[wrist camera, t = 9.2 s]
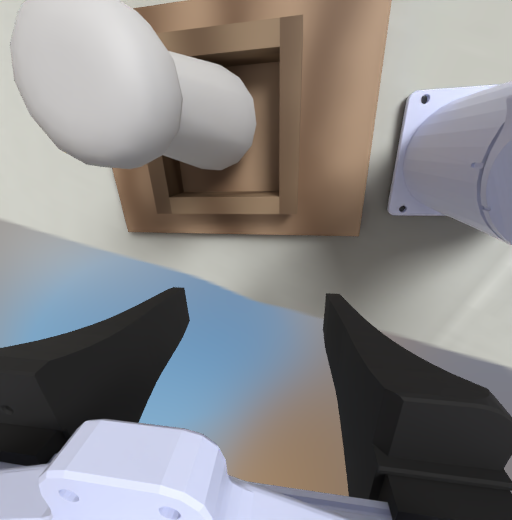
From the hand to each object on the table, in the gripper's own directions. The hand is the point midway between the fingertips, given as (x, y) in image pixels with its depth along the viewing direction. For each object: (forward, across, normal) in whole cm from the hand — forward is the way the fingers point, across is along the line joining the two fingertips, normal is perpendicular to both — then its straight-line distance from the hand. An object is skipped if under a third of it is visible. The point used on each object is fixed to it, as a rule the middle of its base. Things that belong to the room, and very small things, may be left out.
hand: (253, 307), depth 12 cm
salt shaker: (+9, +3, -9) cm, 14 cm away
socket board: (+10, +3, -8) cm, 14 cm away
